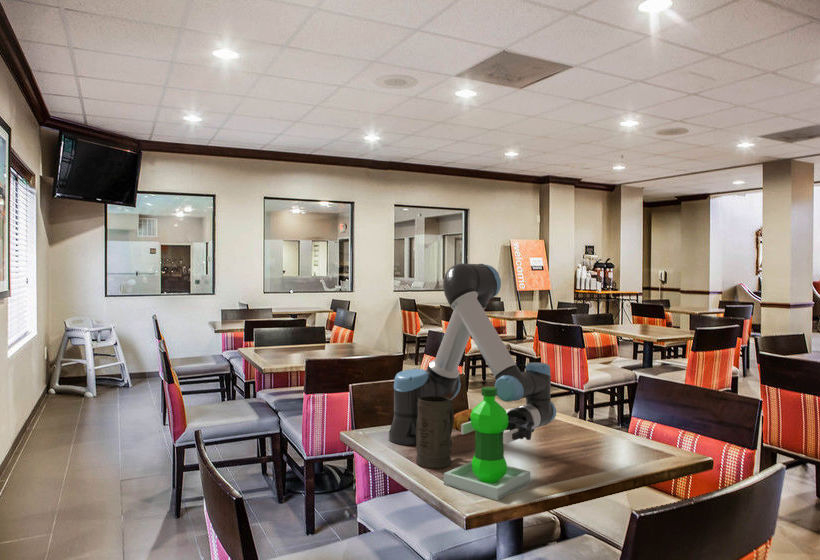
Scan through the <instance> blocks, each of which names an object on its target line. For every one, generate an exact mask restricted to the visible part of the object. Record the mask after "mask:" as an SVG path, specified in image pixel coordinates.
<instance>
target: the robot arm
mask: <svg viewBox="0 0 820 560" xmlns="http://www.w3.org/2000/svg"><path fill="white" fill-rule="evenodd" d="M442 287H443V288H442V289H443V292H444V296H445V299H446V301H447V303H448V305H449V307H450V308H451V309H452V310H453V311H452V313H451V316H450V319H449V322H448V324H447V327H446V329H445V332H444V334H443V336H442V337H443V338H442V340H441V343H440V346H439V348H438V350H437V353H436V356H435V358H434V359H433V360H430V361H429V363H428V365H427V367H426V369H421V368H413V369H405V370H401V371H399V372H397V373H396V374H395V376H394V382H393V419H392V421H391V425H390V428H389V429H390V430H389V431H388V440H389V442H391V443H394V444H397V445H405V446H416V434H417V418H418V399H419V398H420V397H423V396H442V397H447V398H449V399H450V400H453V399H455V398H456V397H457V396H458V395H459V393H460V391H461V381H460V380H461V378H460V370H459V368H458V367H459V365H460V363H461V360H462V358H463V355H464V352H465V350H466V347H467V345H468V342H469V340H470V337H471V338H472V340H473V341H474V344H475V345H476V347H477V348H478V351H479V352H480V354H481V356H482V358H483V359H484V361H485V363H486V364H487V367H488V368H489V370H490V371H491V373H492V375H493V377H494V378H495V383H494V387H495V388H497V396H496V397H497V398H498V399H500V400H501V401H503V402H507V403H508V402H517V401H519V400H520V401H521V400H522V399H525V404H523V405H521V406H517V407H515V408H511V409H510V410H508V412H506V413H507V416H508V426H507V428H506V429H505V430H504V431H507V432H504V433H503V444H504V445H507V444H509V443H512V442H514V441H517V440H523V439H525V440H527V441H530V440H531V439H532V434H533V433H534V432H535V429H537V428H540V427H543V426H546V425H548V424H550V423H551V422H552V421H554V420H555V418H556V416H557V408H556V406H555V404H554V403H553V402H552V400H551V393H552V392H551V389H552V388H551V383H552V375H551V367H550V365H549V364H548V363H546V362H536V361H535V362H533V361H532V362H528V363H526V365H525V371H521V370H520V368H519V367H518V365H517V364H516V362H515V360H514V358H513V356H512V355H511V353H510V351H509V350H508V347H506V345H505V343H504V341H503V340H502V338H501V337H500V335H499V333H498V331H497V330H496V328H495V326H494V325H493V323H492V321H491V320H490V318H489V316H488V314H487V313H486V311H485V309H486V308H487V307H488V304H489V301H490V299H493V298H494V297H496V296H497V295H498V294H499V293H500V290H501V287H502V279H501V277H500V273H499V272H498V271H497V269H496V268H495V267H493V266H492V265H489V264H484V263H457V264H454V265H452V266H451V267H449V268H448V269H447V271H446V272H445V274H444V276H443V281H442ZM472 431H475V430H474V429H473V427H472V425H471V418H468V422H467V423H464V424H461V431H460V434H461V435H465V434H470V433H469V432H472Z"/></svg>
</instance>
